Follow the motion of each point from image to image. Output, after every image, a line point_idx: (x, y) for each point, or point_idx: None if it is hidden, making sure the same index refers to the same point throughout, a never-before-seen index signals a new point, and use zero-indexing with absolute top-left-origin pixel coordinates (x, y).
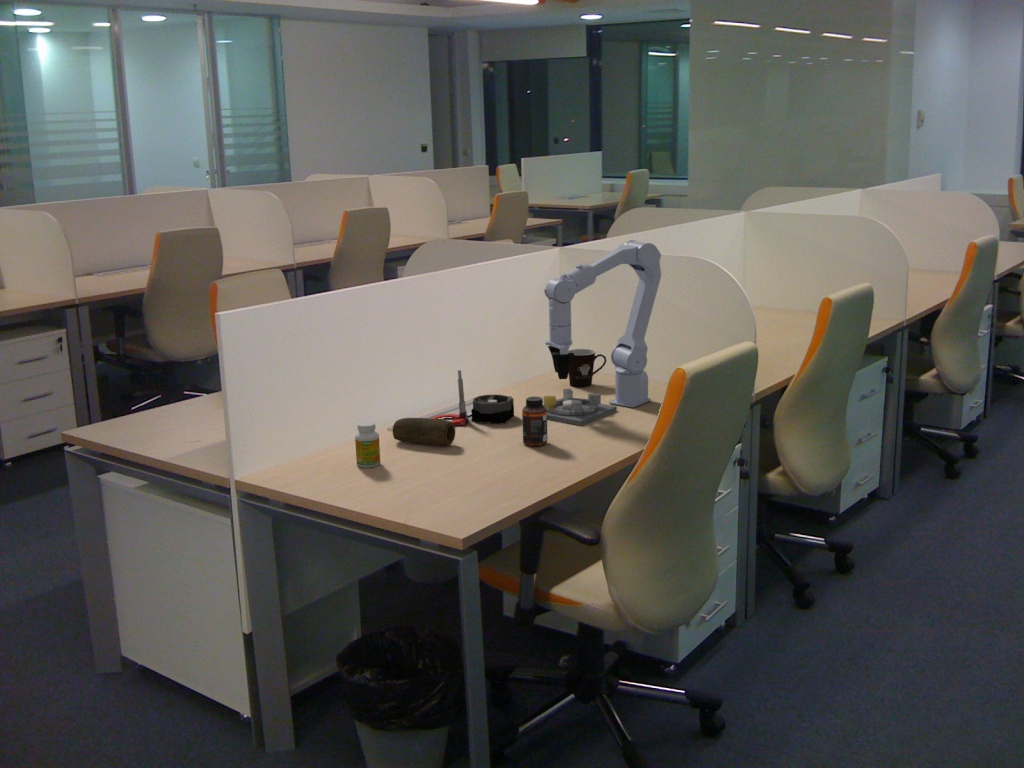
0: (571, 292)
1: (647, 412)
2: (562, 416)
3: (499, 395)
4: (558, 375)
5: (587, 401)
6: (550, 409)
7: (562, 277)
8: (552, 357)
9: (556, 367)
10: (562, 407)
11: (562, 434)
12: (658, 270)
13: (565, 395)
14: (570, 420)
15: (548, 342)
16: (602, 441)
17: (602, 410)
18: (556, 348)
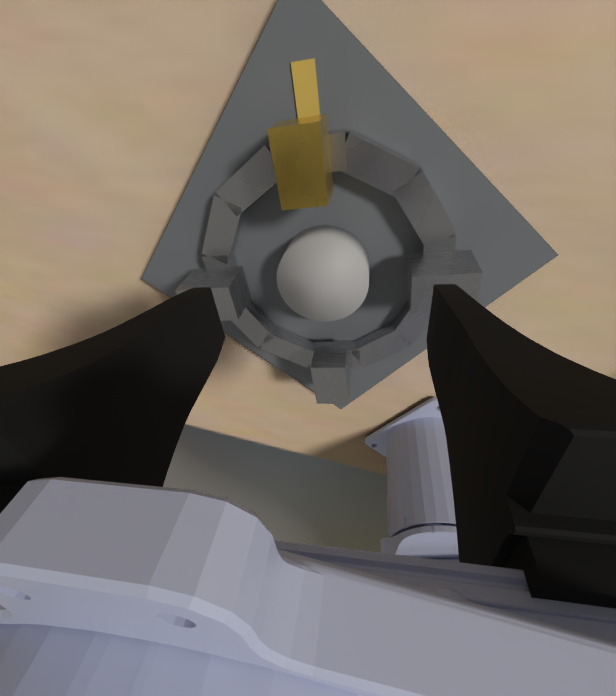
0: None
1: (315, 452)
2: (195, 212)
3: None
4: (174, 296)
5: (371, 342)
6: (254, 156)
7: None
8: (479, 349)
9: (438, 315)
10: (354, 225)
11: (19, 189)
12: None
13: (409, 266)
14: (161, 241)
15: (22, 606)
16: (9, 311)
17: (291, 366)
18: (494, 502)
